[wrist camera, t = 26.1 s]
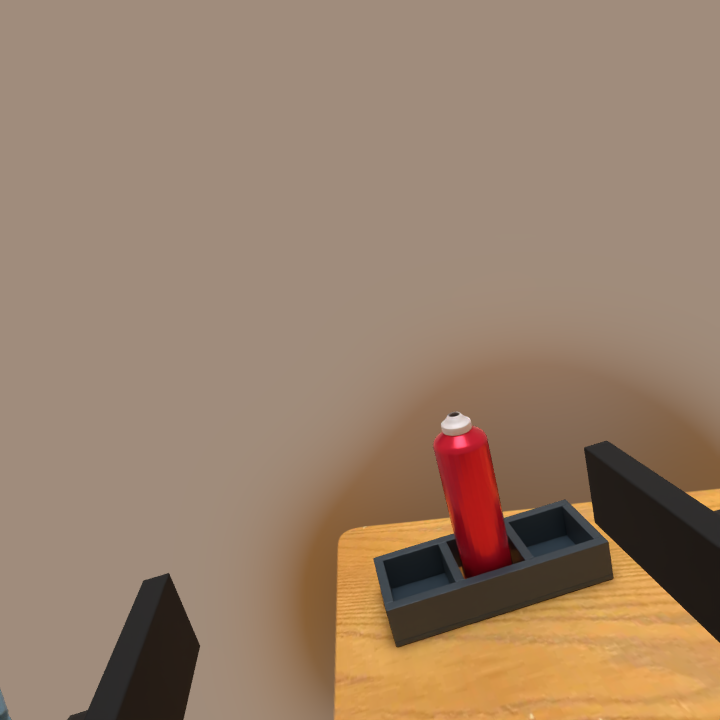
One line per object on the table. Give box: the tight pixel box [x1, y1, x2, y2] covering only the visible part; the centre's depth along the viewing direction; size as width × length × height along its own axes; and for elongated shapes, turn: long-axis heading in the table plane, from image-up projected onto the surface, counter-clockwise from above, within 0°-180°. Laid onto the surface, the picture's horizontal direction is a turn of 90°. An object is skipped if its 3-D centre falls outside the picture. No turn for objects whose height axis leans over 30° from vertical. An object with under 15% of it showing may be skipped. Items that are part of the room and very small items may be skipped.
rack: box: [374, 500, 613, 647], centre depth 55 cm, size 8×24×5 cm, turn 97°
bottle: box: [433, 412, 513, 579], centre depth 53 cm, size 5×6×20 cm
